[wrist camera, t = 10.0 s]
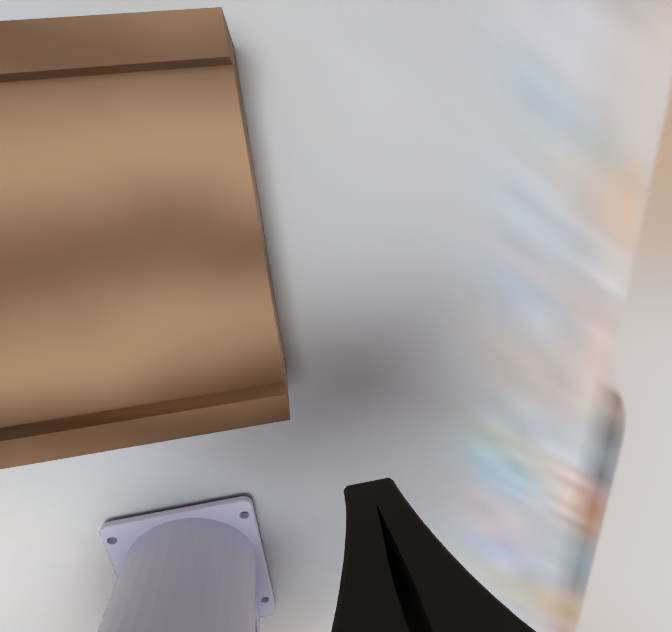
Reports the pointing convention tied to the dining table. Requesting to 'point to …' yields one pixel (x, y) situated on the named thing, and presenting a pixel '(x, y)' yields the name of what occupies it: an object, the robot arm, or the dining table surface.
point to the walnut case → (129, 238)
